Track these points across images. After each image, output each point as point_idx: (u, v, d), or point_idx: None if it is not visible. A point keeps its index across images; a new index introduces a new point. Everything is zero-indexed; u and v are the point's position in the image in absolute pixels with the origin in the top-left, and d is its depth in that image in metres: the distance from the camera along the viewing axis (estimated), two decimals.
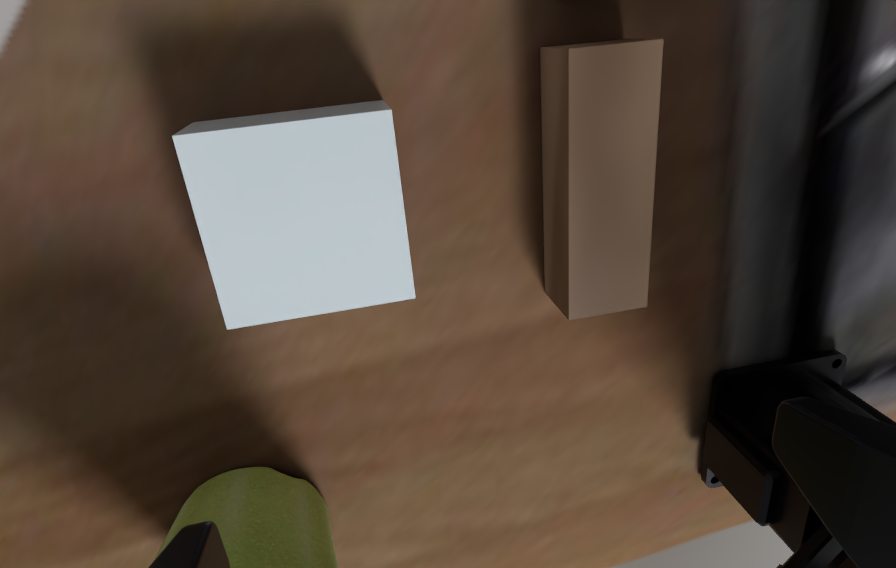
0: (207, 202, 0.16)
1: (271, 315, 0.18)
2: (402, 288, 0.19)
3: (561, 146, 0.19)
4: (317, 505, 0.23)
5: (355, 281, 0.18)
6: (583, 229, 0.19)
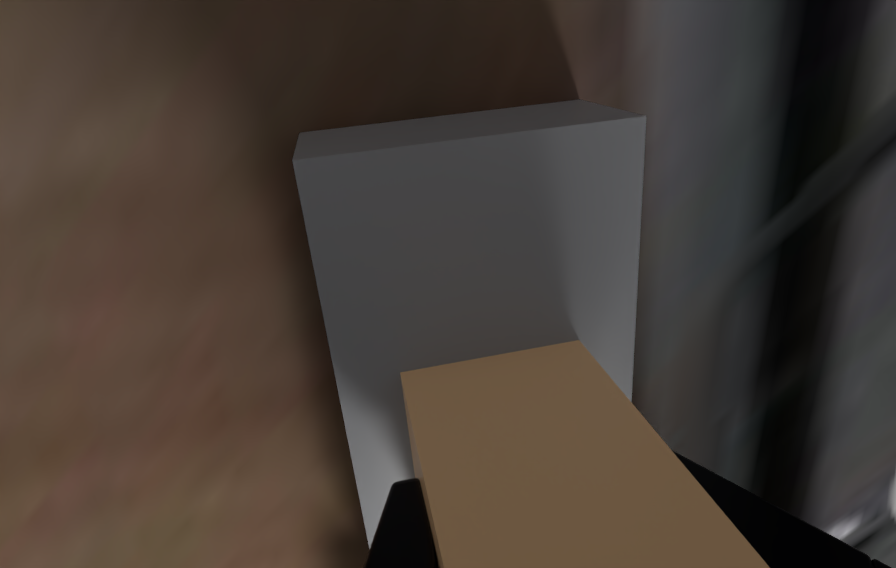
0: None
1: None
2: None
3: None
4: None
5: None
6: None
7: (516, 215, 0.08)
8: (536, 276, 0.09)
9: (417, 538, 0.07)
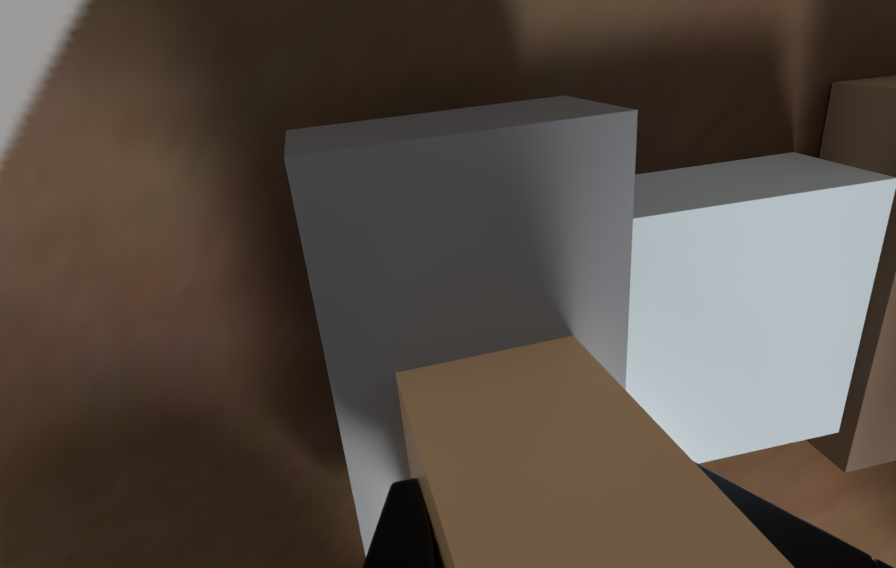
0: None
1: None
2: (827, 420, 0.13)
3: None
4: None
5: (773, 415, 0.13)
6: (894, 353, 0.13)
7: (510, 212, 0.08)
8: (531, 272, 0.09)
9: (416, 538, 0.07)
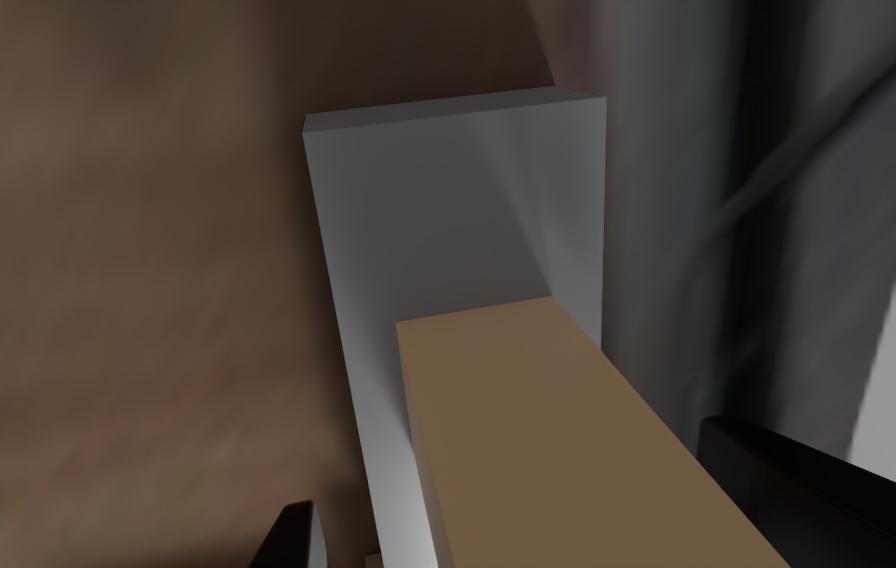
0: None
1: None
2: None
3: None
4: None
5: None
6: None
7: (495, 183, 0.10)
8: (513, 237, 0.10)
9: (290, 566, 0.07)
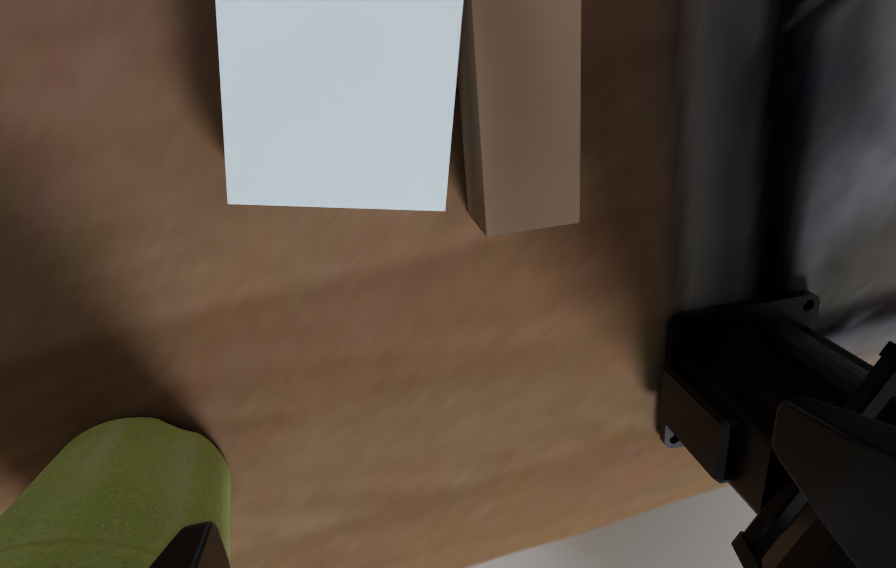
0: (236, 41, 0.14)
1: (281, 197, 0.16)
2: (433, 196, 0.17)
3: (467, 19, 0.16)
4: (209, 460, 0.20)
5: (384, 177, 0.16)
6: (497, 122, 0.16)
7: None
8: None
9: None
